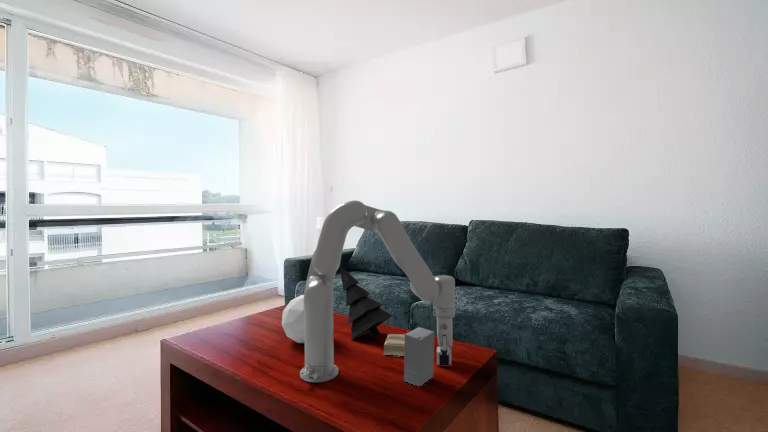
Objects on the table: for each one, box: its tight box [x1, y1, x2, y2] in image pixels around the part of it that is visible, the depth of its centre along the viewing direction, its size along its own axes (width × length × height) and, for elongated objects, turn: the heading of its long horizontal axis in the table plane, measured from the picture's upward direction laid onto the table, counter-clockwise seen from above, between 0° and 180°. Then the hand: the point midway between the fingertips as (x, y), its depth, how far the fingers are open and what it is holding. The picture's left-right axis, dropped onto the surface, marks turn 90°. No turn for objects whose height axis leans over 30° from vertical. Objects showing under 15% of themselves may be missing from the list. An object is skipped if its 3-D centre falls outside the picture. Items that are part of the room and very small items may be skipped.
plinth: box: [383, 333, 405, 357], centre depth 141 cm, size 12×12×4 cm
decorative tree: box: [339, 264, 393, 341], centre depth 158 cm, size 15×15×35 cm
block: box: [436, 346, 452, 365], centre depth 128 cm, size 5×5×5 cm
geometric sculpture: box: [281, 294, 305, 344], centre depth 150 cm, size 19×20×20 cm
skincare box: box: [403, 327, 435, 387], centre depth 115 cm, size 8×7×16 cm
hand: (444, 361), depth 128 cm, fingers closed on block, 5 cm apart
